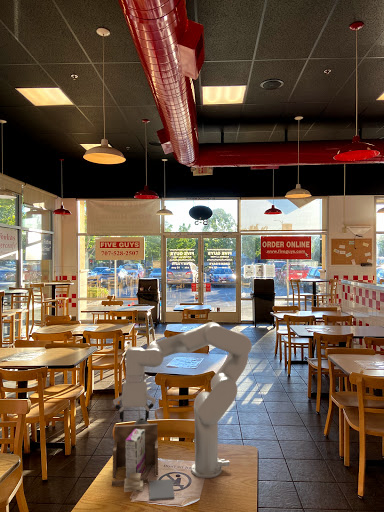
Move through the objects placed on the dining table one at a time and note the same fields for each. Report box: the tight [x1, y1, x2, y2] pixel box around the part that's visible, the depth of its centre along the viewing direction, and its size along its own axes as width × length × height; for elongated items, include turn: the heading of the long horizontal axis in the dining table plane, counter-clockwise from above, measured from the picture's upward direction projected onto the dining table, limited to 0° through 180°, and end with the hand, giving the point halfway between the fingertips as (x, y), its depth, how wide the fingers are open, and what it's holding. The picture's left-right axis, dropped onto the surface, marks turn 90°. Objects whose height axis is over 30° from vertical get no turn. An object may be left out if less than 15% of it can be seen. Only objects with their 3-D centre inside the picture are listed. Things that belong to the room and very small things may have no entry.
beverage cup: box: [133, 408, 149, 425], centre depth 177 cm, size 7×7×20 cm
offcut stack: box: [123, 473, 144, 493], centre depth 149 cm, size 7×4×5 cm, turn 96°
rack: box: [111, 423, 159, 487], centre depth 160 cm, size 18×15×17 cm
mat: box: [148, 478, 175, 501], centre depth 148 cm, size 9×12×1 cm
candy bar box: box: [125, 429, 147, 478], centre depth 159 cm, size 11×5×16 cm, turn 168°
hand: (134, 420), depth 159 cm, fingers open, 9 cm apart
